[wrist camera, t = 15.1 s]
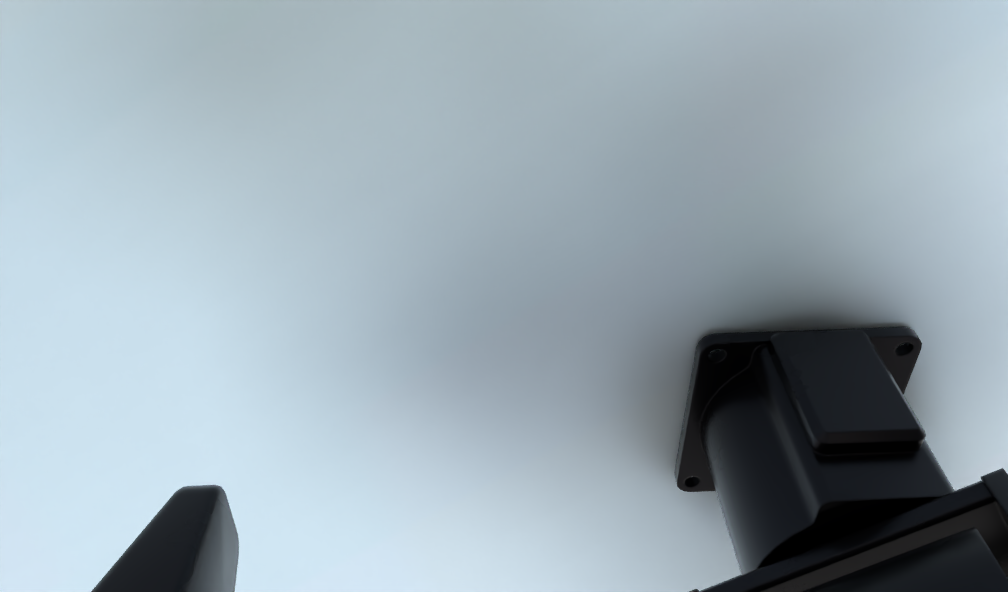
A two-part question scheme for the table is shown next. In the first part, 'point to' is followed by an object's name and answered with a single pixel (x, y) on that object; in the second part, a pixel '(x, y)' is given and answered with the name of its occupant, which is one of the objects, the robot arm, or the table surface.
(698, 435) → the robot arm
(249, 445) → the table surface
